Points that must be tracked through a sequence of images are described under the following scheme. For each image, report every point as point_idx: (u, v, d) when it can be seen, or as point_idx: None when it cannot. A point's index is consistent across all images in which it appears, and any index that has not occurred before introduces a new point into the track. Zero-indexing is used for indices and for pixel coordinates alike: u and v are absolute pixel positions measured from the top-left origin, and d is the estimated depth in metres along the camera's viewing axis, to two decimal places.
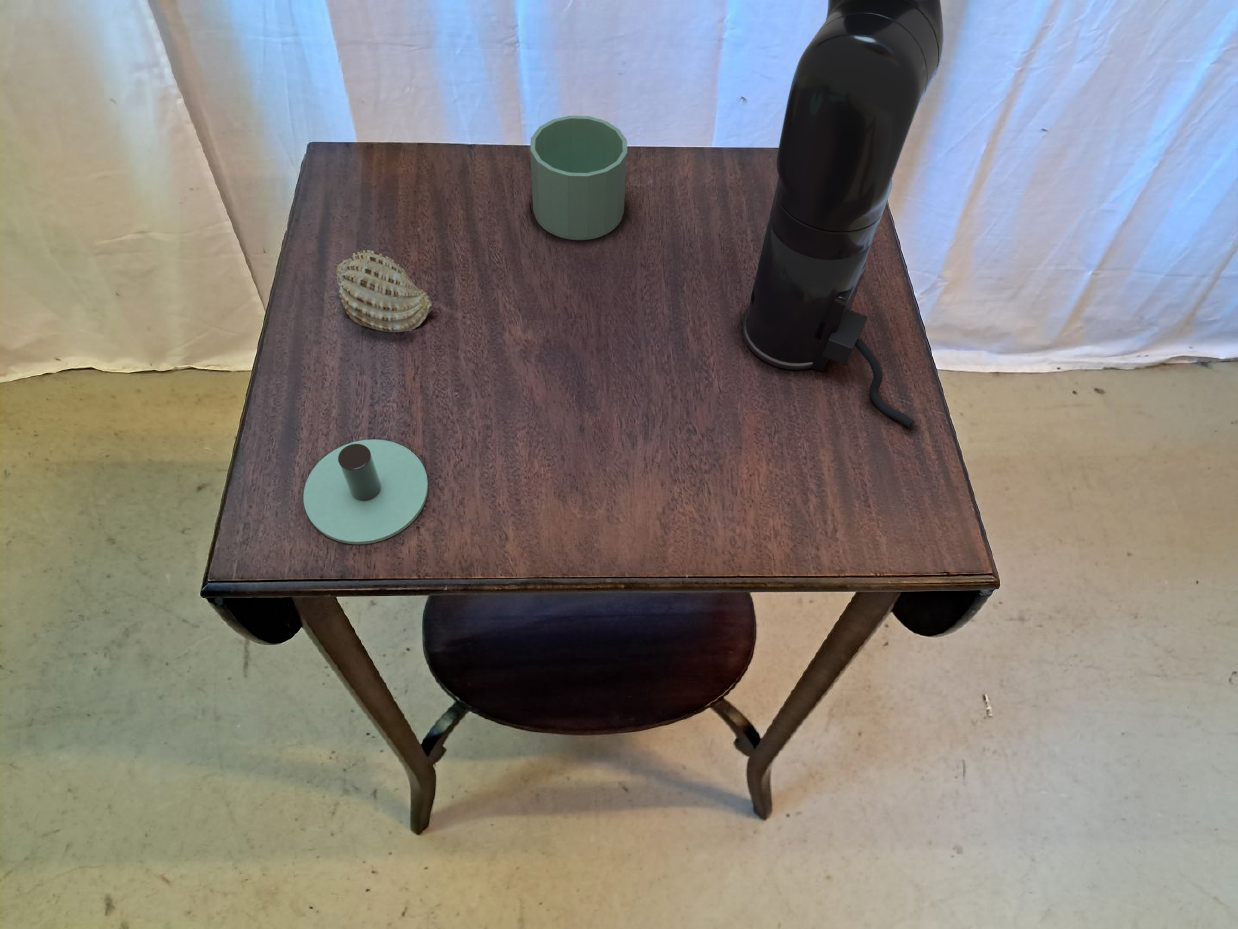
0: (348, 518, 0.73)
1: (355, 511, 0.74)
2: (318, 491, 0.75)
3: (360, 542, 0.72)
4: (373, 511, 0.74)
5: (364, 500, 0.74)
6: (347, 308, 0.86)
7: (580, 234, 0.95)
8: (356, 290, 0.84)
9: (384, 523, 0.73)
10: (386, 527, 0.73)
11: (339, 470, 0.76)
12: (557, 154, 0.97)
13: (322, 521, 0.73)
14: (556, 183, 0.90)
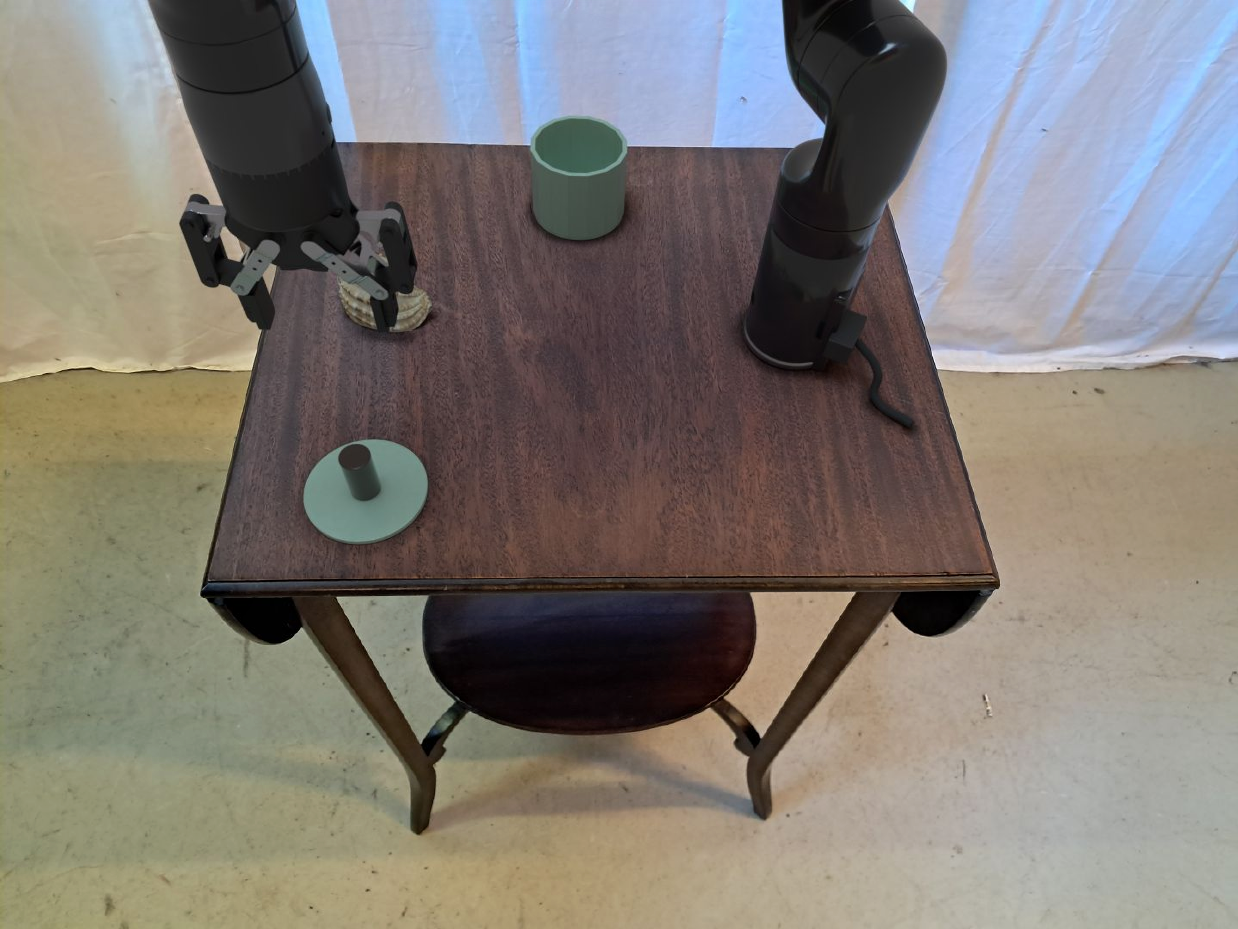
0: (348, 518, 0.73)
1: (355, 511, 0.74)
2: (318, 491, 0.75)
3: (360, 542, 0.72)
4: (373, 511, 0.74)
5: (364, 500, 0.74)
6: (347, 308, 0.86)
7: (580, 234, 0.95)
8: (356, 290, 0.84)
9: (384, 523, 0.73)
10: (386, 527, 0.73)
11: (339, 470, 0.76)
12: (557, 154, 0.97)
13: (322, 521, 0.73)
14: (556, 183, 0.90)
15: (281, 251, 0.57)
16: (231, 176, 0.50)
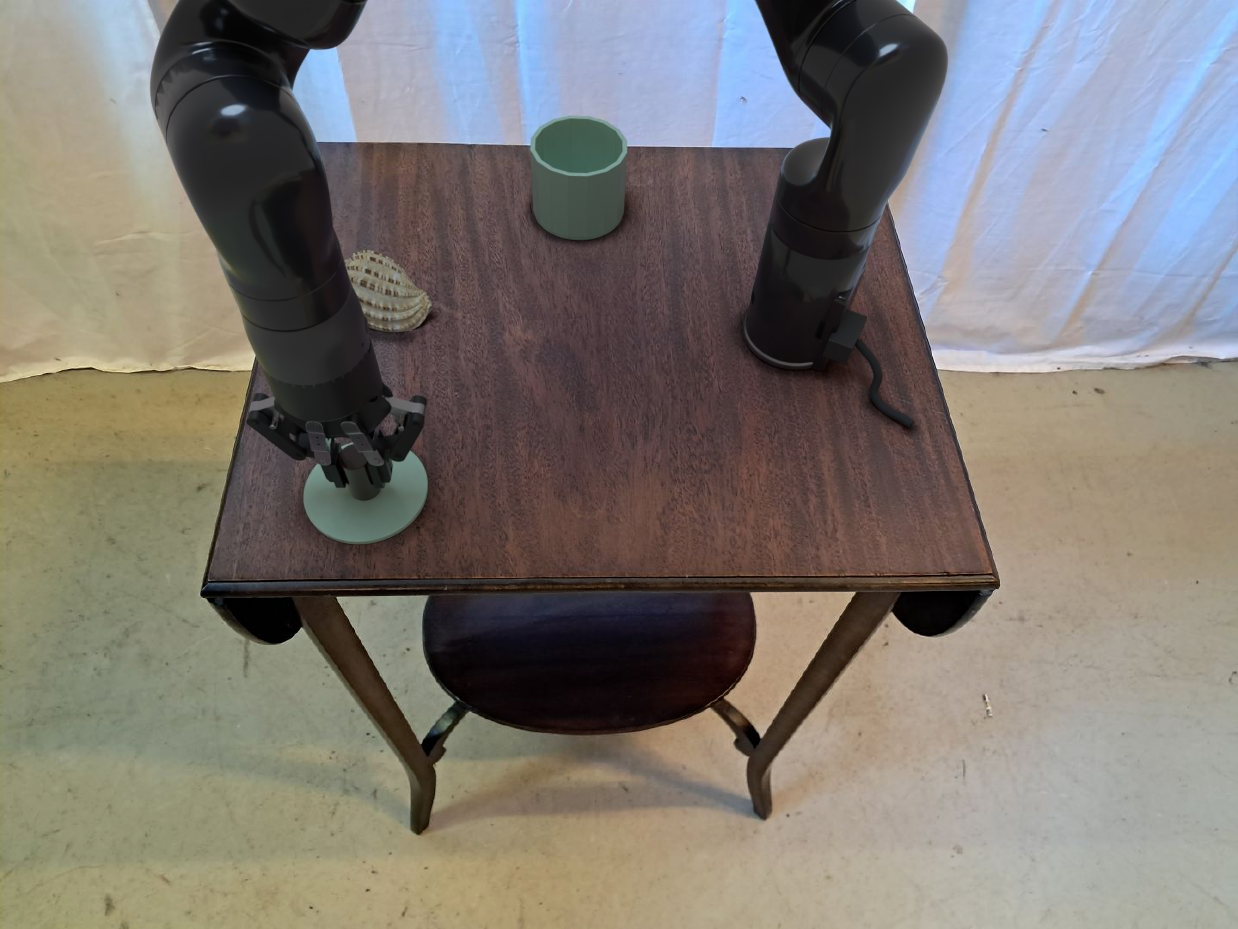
0: (348, 518, 0.73)
1: (355, 511, 0.74)
2: (318, 491, 0.75)
3: (360, 542, 0.72)
4: (373, 511, 0.74)
5: (364, 500, 0.74)
6: None
7: (580, 234, 0.95)
8: (356, 290, 0.84)
9: (384, 523, 0.73)
10: (386, 527, 0.73)
11: None
12: (557, 154, 0.97)
13: (322, 521, 0.73)
14: (556, 183, 0.90)
15: None
16: (285, 385, 0.58)
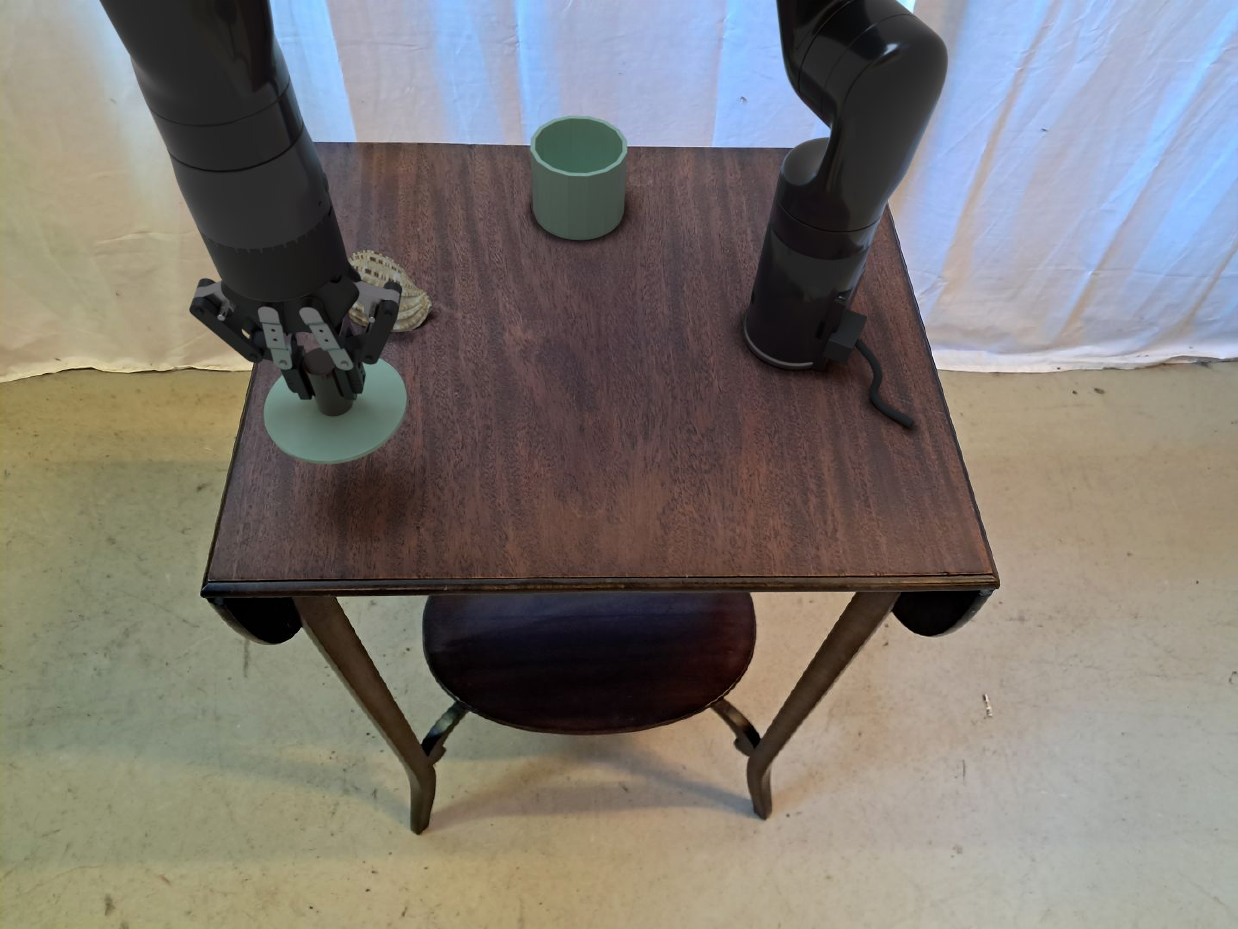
0: (314, 435, 0.64)
1: (323, 427, 0.64)
2: (281, 406, 0.65)
3: (328, 462, 0.63)
4: (343, 427, 0.64)
5: (333, 415, 0.65)
6: None
7: (580, 234, 0.95)
8: None
9: (356, 440, 0.64)
10: (358, 445, 0.63)
11: None
12: (557, 154, 0.97)
13: (284, 438, 0.64)
14: (556, 183, 0.90)
15: None
16: (226, 250, 0.49)
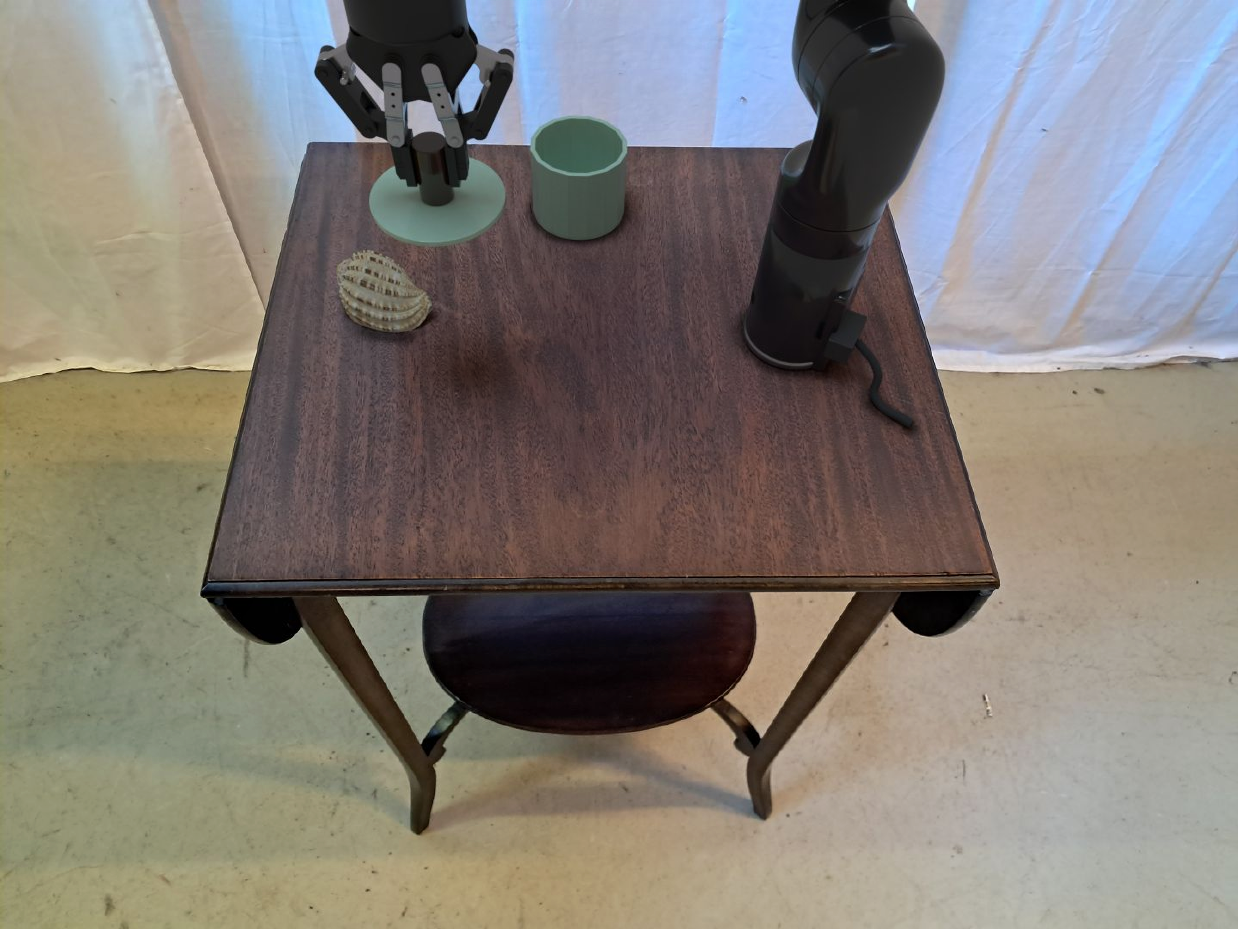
0: (420, 221, 0.66)
1: (427, 215, 0.66)
2: (385, 198, 0.67)
3: (435, 244, 0.65)
4: (447, 215, 0.67)
5: (437, 205, 0.67)
6: (347, 308, 0.86)
7: (580, 234, 0.95)
8: (356, 290, 0.84)
9: (460, 226, 0.66)
10: (463, 229, 0.66)
11: None
12: (557, 154, 0.97)
13: (391, 224, 0.66)
14: (556, 183, 0.90)
15: None
16: None
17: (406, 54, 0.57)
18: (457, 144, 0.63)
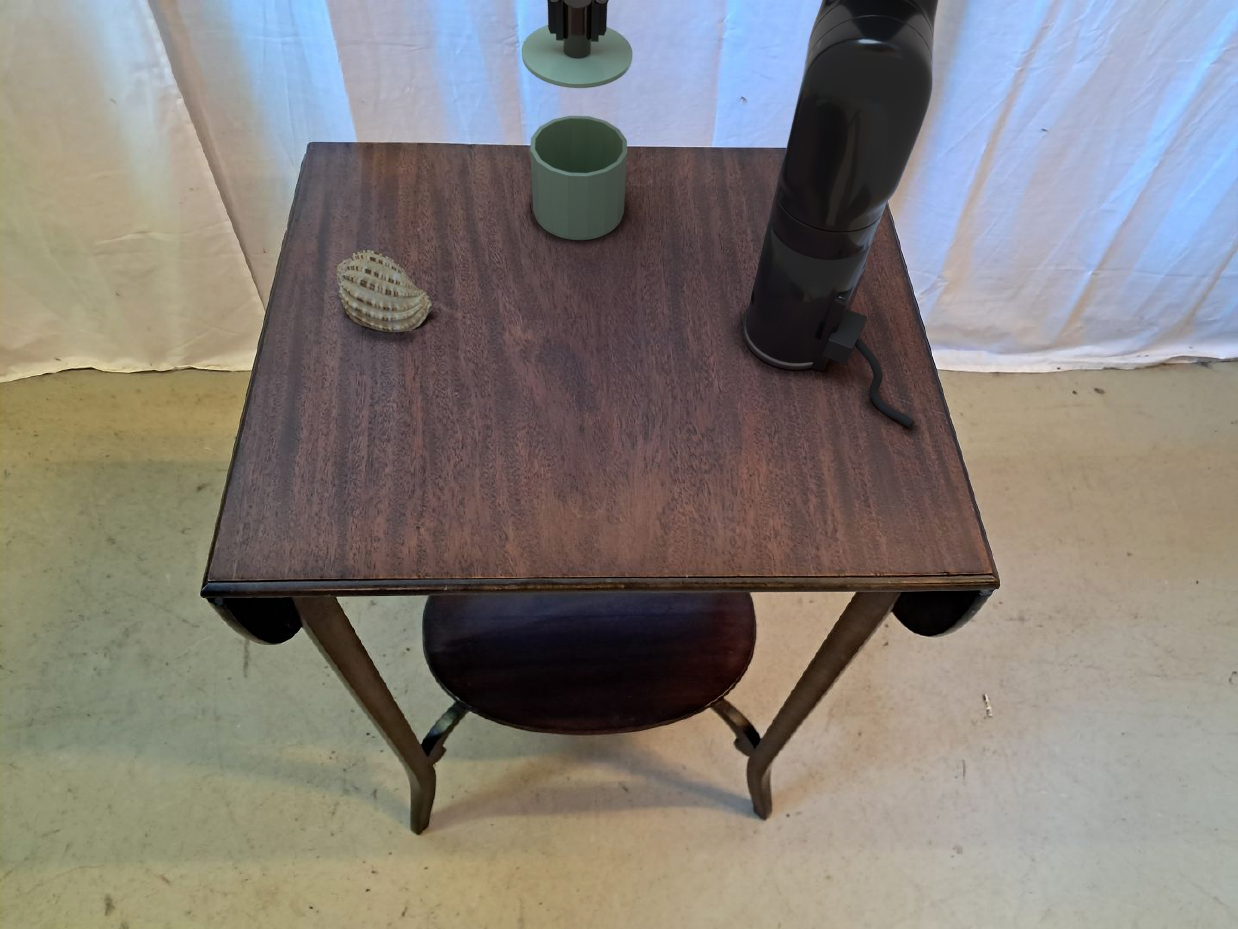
0: (566, 68, 0.81)
1: (571, 64, 0.81)
2: (534, 51, 0.82)
3: (580, 85, 0.80)
4: (587, 64, 0.81)
5: (578, 57, 0.81)
6: (347, 308, 0.86)
7: (580, 234, 0.95)
8: (356, 290, 0.84)
9: (599, 72, 0.81)
10: (601, 75, 0.80)
11: (550, 39, 0.83)
12: (557, 154, 0.97)
13: (543, 70, 0.80)
14: (556, 183, 0.90)
15: None
16: None
17: None
18: (603, 0, 0.77)
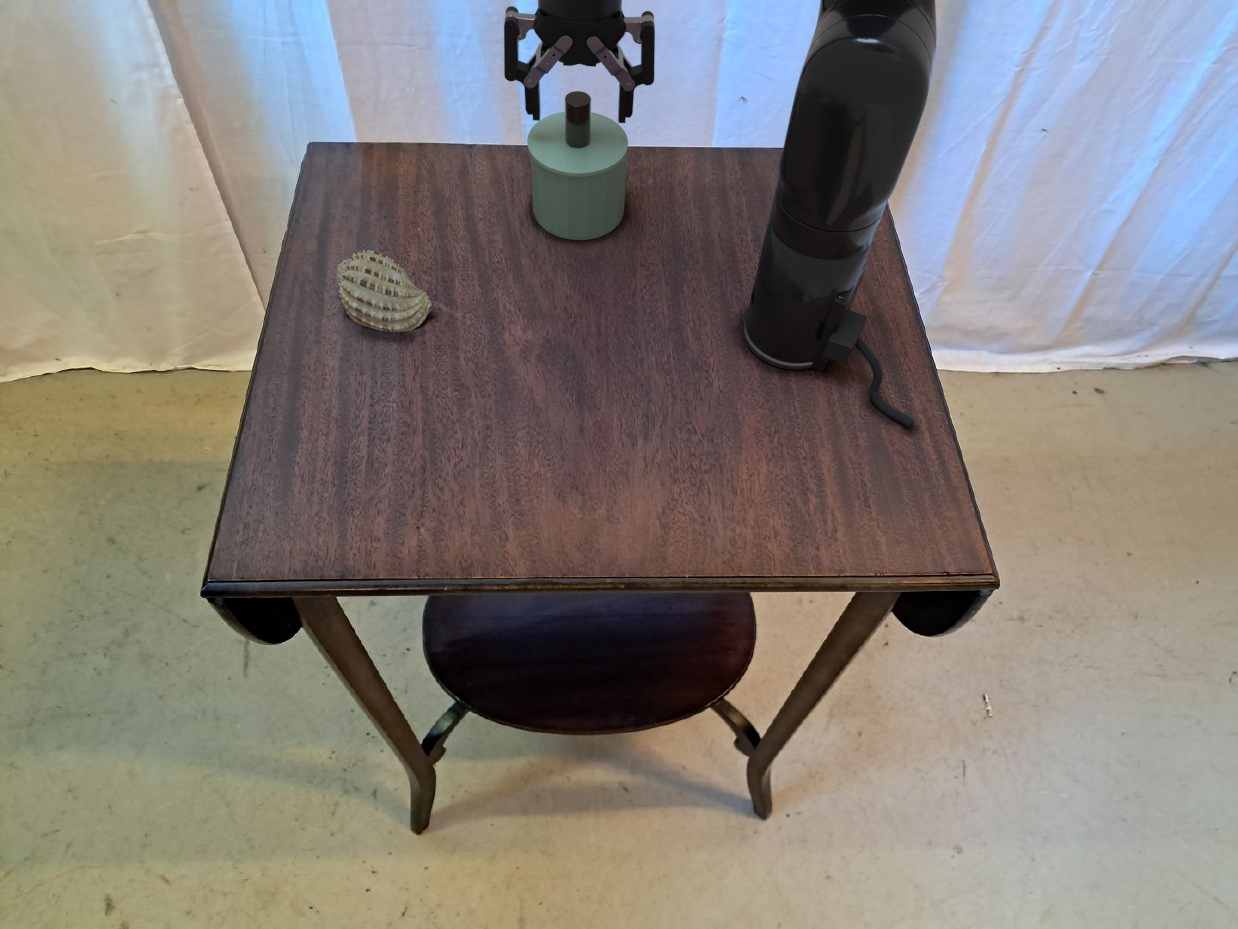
0: (567, 158, 0.89)
1: (572, 154, 0.89)
2: (539, 141, 0.90)
3: (580, 174, 0.88)
4: (587, 154, 0.89)
5: (578, 147, 0.90)
6: (347, 308, 0.86)
7: (580, 234, 0.95)
8: (356, 290, 0.84)
9: (597, 162, 0.89)
10: (599, 164, 0.89)
11: (553, 129, 0.92)
12: None
13: (546, 160, 0.89)
14: (556, 183, 0.90)
15: (568, 48, 0.81)
16: None
17: (576, 29, 0.80)
18: (630, 88, 0.85)
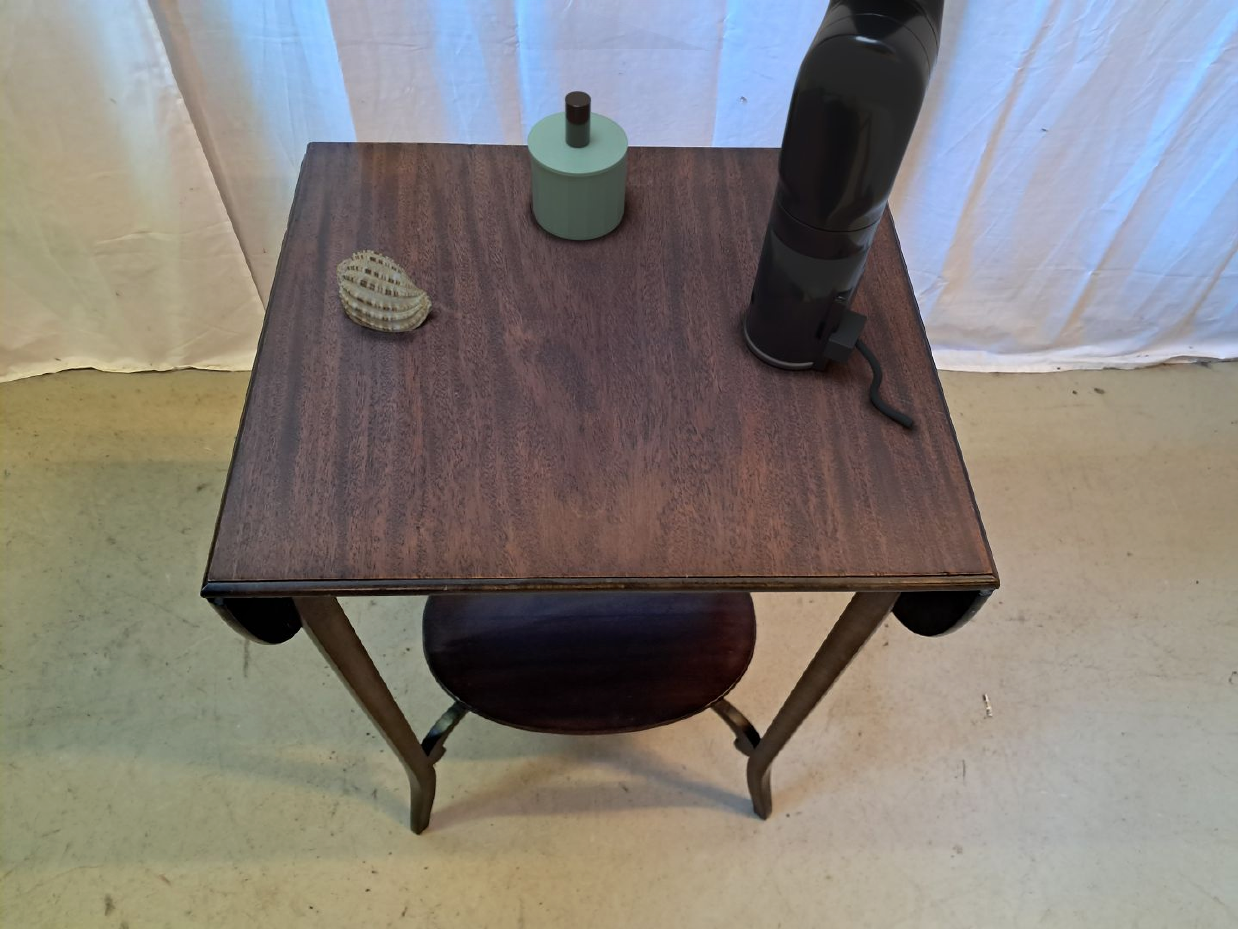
0: (567, 158, 0.89)
1: (572, 154, 0.89)
2: (539, 141, 0.90)
3: (580, 174, 0.88)
4: (587, 154, 0.89)
5: (578, 147, 0.90)
6: (347, 308, 0.86)
7: (580, 234, 0.95)
8: (356, 290, 0.84)
9: (597, 162, 0.89)
10: (599, 164, 0.89)
11: (553, 129, 0.92)
12: None
13: (546, 160, 0.89)
14: (556, 183, 0.90)
15: None
16: None
17: None
18: None
